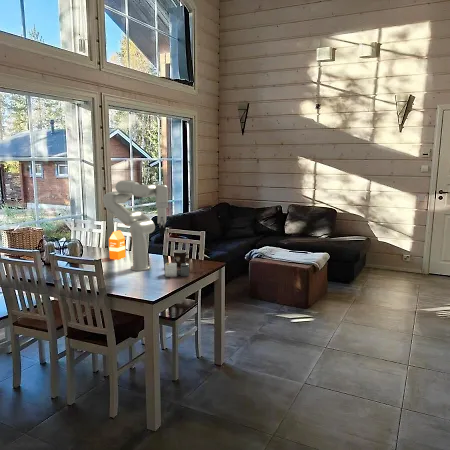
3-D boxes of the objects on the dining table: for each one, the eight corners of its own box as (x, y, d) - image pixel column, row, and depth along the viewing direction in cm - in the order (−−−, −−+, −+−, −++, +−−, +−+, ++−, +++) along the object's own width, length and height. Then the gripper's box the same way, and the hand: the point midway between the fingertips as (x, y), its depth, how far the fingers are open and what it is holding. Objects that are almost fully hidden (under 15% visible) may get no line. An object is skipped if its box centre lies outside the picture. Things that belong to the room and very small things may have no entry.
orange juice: (109, 258, 295) (108, 231, 292) (117, 256, 303) (116, 229, 300) (118, 259, 292) (117, 232, 289) (125, 257, 300) (124, 230, 297)
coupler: (166, 273, 257) (166, 262, 256) (189, 273, 258) (188, 262, 257) (166, 276, 250) (165, 265, 249) (189, 276, 251) (188, 265, 250)
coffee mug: (171, 265, 276) (170, 251, 274) (180, 263, 282) (180, 249, 280) (182, 268, 268) (182, 254, 266) (192, 266, 274) (192, 251, 273)
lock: (165, 273, 257) (165, 261, 255) (177, 273, 257) (176, 261, 256) (165, 276, 251) (164, 264, 249) (176, 276, 251) (176, 264, 250)
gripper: (157, 203, 259) (157, 230, 262) (154, 206, 242) (155, 235, 245) (168, 203, 260) (169, 229, 263) (167, 206, 243) (168, 234, 246)
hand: (162, 232), depth 254 cm, fingers open, 9 cm apart
